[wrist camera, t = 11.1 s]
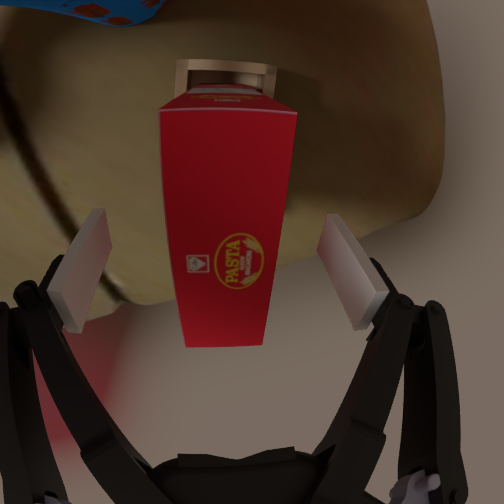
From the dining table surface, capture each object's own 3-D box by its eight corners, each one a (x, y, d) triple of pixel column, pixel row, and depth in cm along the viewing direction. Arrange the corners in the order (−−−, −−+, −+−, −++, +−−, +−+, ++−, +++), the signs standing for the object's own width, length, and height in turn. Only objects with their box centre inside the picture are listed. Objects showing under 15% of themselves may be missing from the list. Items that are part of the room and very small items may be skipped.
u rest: (179, 204, 39) (174, 226, 34) (184, 61, 27) (177, 59, 22) (250, 206, 41) (254, 228, 36) (268, 66, 29) (277, 65, 24)
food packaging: (236, 189, 38) (262, 345, 18) (198, 189, 37) (185, 347, 18) (242, 84, 29) (297, 112, 10) (199, 83, 29) (158, 109, 9)
